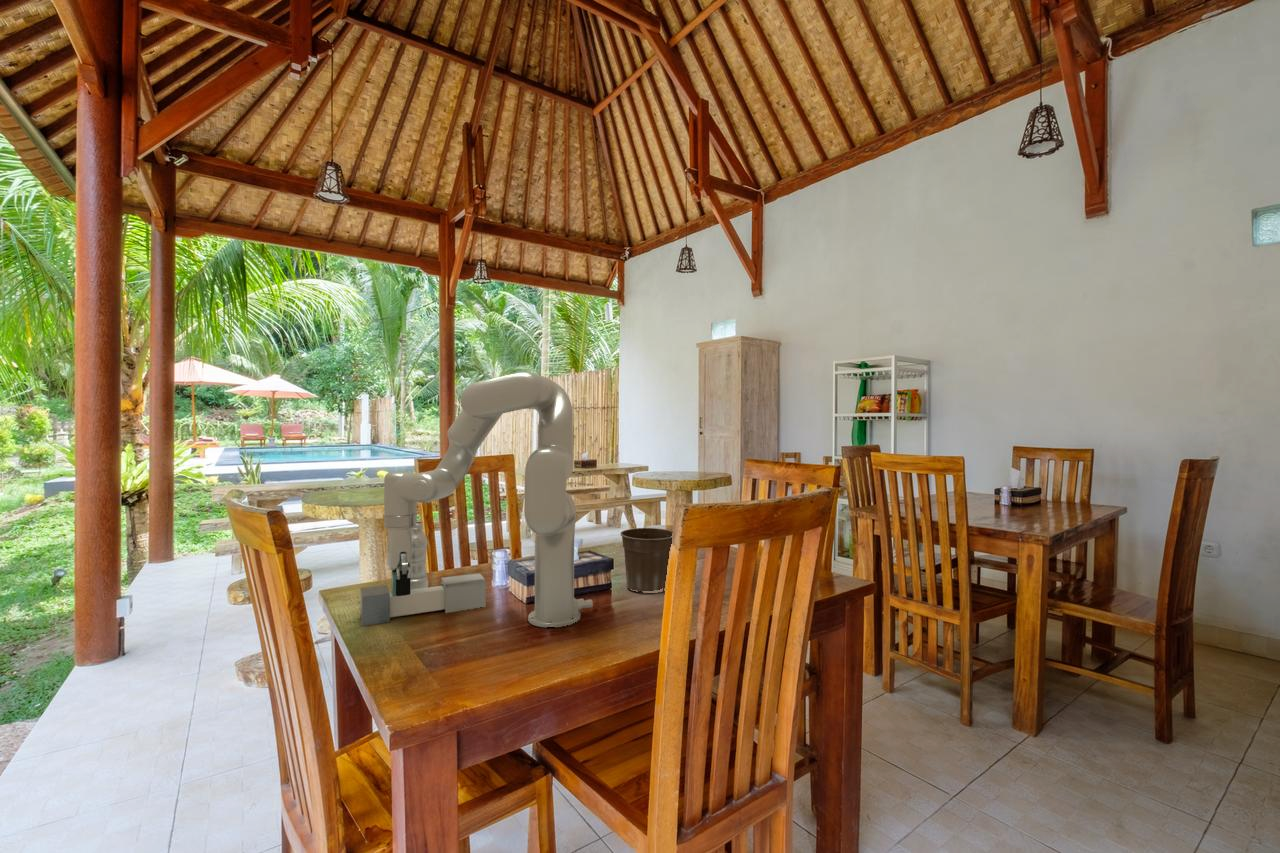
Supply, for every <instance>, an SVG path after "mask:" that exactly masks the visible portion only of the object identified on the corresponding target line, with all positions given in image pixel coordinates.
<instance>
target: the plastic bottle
mask: <svg viewBox="0 0 1280 853" xmlns="http://www.w3.org/2000/svg"><path fill="white" fill-rule="evenodd" d="M423 525H424V524H423V522H422V521H417V527H415V528H412V566H411V568H409V572H410V574H411V590H413V589H420V588H428V587H429V579H428V574H427V552H428V551H427V550H428V543H429V542H428V541H429V540H428V537H427V535H426V534H425V533H424V531H423V529H424V527H423Z"/></svg>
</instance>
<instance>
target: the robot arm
mask: <svg viewBox="0 0 1280 853" xmlns="http://www.w3.org/2000/svg"><path fill="white" fill-rule="evenodd" d="M572 406H573V405H572V402H571V399H570V397H569V395H568V393H567V392H566V390H565V389H564V388H563V387H562V386H561V385H560V384H558V383H556V381H554V380H552V379H550V378H548V377H545V376H543V375H540V374H537V373H534V372H530V371H521V372H514V373H511V374H506V375H501V376H498V377H493V378H488V379H484V380H479V381H475V382H473V383H471V384H469V385H468V386H466V387H465V388H464V390H463V391H462V393H461V395H460V407H461V408H462V409H461V411H460V413H459V414H458V415H457V417H456V418H455V419H454V421H453V423H452V424H451V425H450V427H449V428H448V430H447V431H446V432H447V433H446V435H447V439H448V447H447V450H446V453H445V454H444V456H443V458H442V459H441V460H440V462H439V463H438V465H437V466H436V468H435V469H433V470H429V471H422V472H417V473H415V472H413V471H406V470H405V471H404V470H403V471H402V470H401V471H392V472H387V473H386V474H385V476H384V479H383V481H384V482H383V483H384V484H383V494H384V496H383V500H384V504H383V505H384V509H383V512H384V515H383V516H384V517H383V518H384V519H383V520H384V522H383V525H384V530H388V531H387V532H388V533H387V561H386V562H387V566H388V567H389V568H388V569H389V570H390V571H391V572H397V579H396V596H404V595H409V594H410V573H409V568H411V566H412V528H415V527H417V522H418V503H419V504H420V503H421V504H428V503H433V502H435V501H438V500H442V499H444V498H447V497H449V496H450V495H451V494H453V492H455V490H456V489H457V487H458V486H459V485H460V484H461V482H463V479H464V478H465V477H466V475H467V473H468V472H469V470H470V468H471V467H472V465H473V462H474V460H475V458H476V456H477V452H478V450H479V448H480V447H481V445H482V444H483V442H484V441H485V440H486V438H487V437H488V435H489V434H490V433H491V431H492V429H493V428H494V426H495V425H496V424H497V422H498V421H499V419H501V417H502V415H503V414H507V413H511V412H515V411H520V410H535V411H537V413H538V423H537V424H538V425H537V448H536V449H535V450H534V451H533V452H531V454H530V455H529V456H528V458H527V461H526V463H525V468H524V502H523V503H524V511H523V512H524V519H525V522H526V525H527V526H528V528H529V529H530V531H531V532H533V533H534V534H535V535H534V536H535V537H534V610H533V611H531V612H530V613H529V614H528V617H527V620H528V622H529V623H530V624H531V625H533V626H535V627H539V628H547V627H555V628H562V627H563V626H564V627H567V625H568V626H571V625H573V623H574V624H576V623H577V622H579V621H580V620H581V612H580V611H581V610H582V609H589V608H593V605H594V602H593V600H592V599H590V598H589V599H585V598H578V599H577V598H575V534H576V533H575V532H576V520H577V519H576V518H577V516H576V515H577V507H576V503H575V500H574V498H573V497H572V496H571V494H570V493H568V492H567V480H568V479H569V478H570V476H571V475H572V473H573V471H574V426H573V425H574V424H573V423H574V418H573V416H574V414H573V407H572ZM584 599H585V600H584ZM578 620H579V621H578ZM575 622H576V623H575Z"/></svg>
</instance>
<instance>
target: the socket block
mask: <svg viewBox="0 0 1280 853" xmlns="http://www.w3.org/2000/svg"><path fill="white" fill-rule="evenodd" d="M390 592H391V591H390V590H389V587H388V585H387V584H382V585H375V586H366V587H360V592H359V593H360V621H361V626H362V627H367V626H372V625H373V624H374V625H380V623H381V624H386V623H385V622H387V623H390V622H391V620H390V619H391V617H390ZM374 625H373V626H374Z"/></svg>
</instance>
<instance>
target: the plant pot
mask: <svg viewBox="0 0 1280 853" xmlns="http://www.w3.org/2000/svg"><path fill="white" fill-rule="evenodd" d="M673 532H674V531H673V530H670V529H665V528H656V527H639V528H636V527H635V528H630V529H625V530H621V532H620V536H621V538H622V540H621V542H622V548H623V552H624V563H625V575H626V578H625V579H626V588H627V587H628V588H630V589H632V590H637V591H639V592H640V591H654V590H660V589H662V588H663V592H662V593H664V592H665V591H664V588H665V581H666V575H667V565H668V559H669V551H670V547H671V544H672V537H671V536H672V533H673ZM628 588H627V589H628Z"/></svg>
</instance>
